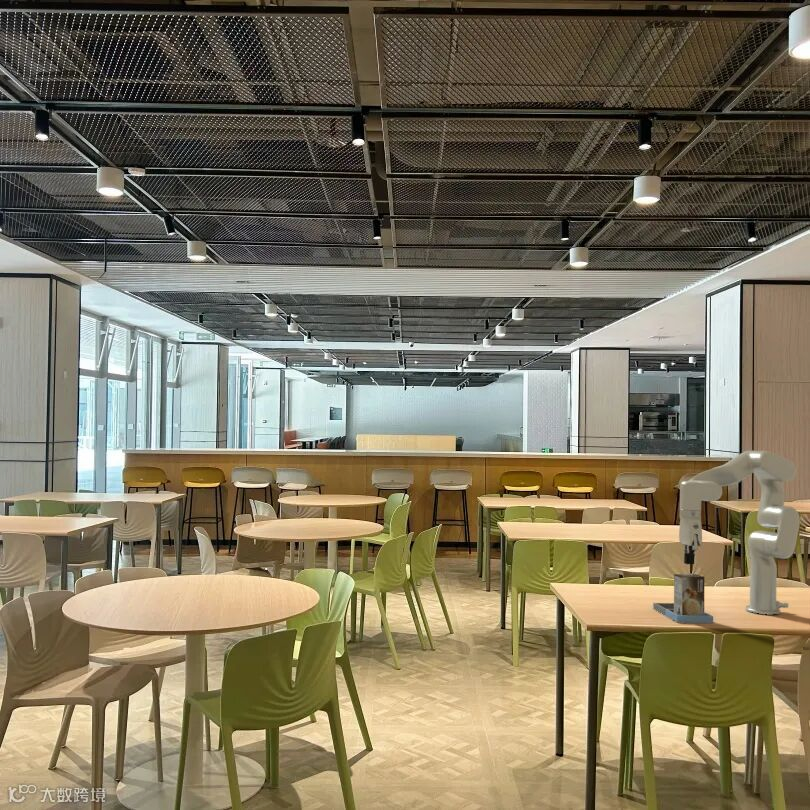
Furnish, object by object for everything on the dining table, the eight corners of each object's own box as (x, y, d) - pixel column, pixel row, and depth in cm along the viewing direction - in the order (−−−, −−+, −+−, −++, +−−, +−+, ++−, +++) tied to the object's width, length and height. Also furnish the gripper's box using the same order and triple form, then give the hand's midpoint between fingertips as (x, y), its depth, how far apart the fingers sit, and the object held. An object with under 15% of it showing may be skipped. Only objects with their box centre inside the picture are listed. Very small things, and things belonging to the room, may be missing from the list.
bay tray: (686, 609, 311) (686, 603, 312) (713, 623, 290) (713, 616, 290) (653, 609, 310) (653, 602, 310) (677, 622, 289) (677, 615, 289)
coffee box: (695, 616, 299) (696, 573, 299) (704, 620, 292) (705, 576, 293) (672, 616, 297) (673, 573, 298) (681, 620, 291) (682, 576, 291)
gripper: (709, 516, 289) (708, 567, 288) (690, 512, 304) (689, 560, 303) (689, 516, 288) (688, 567, 288) (672, 512, 303) (670, 560, 303)
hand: (689, 563), depth 295 cm, fingers closed
